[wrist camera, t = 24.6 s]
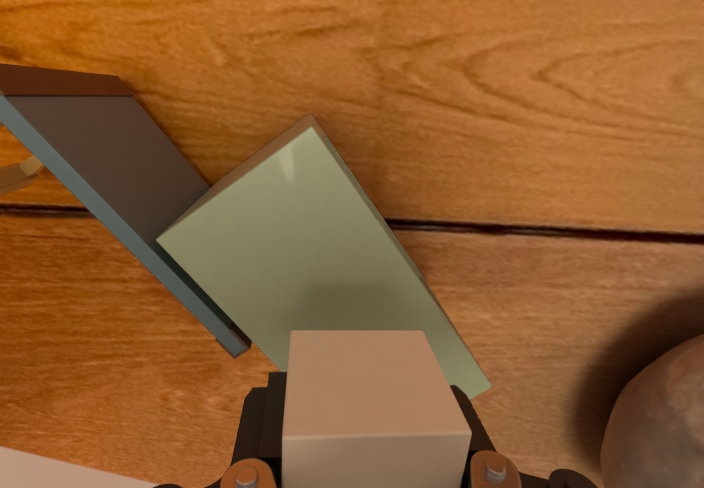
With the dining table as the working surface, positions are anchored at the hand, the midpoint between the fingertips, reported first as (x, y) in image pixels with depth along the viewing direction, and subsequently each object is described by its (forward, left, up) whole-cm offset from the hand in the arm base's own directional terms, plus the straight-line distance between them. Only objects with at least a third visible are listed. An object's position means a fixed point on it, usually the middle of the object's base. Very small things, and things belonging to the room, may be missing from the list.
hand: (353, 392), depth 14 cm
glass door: (+7, +11, -17) cm, 21 cm away
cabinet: (0, 0, -18) cm, 18 cm away
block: (0, 0, 0) cm, 0 cm away
